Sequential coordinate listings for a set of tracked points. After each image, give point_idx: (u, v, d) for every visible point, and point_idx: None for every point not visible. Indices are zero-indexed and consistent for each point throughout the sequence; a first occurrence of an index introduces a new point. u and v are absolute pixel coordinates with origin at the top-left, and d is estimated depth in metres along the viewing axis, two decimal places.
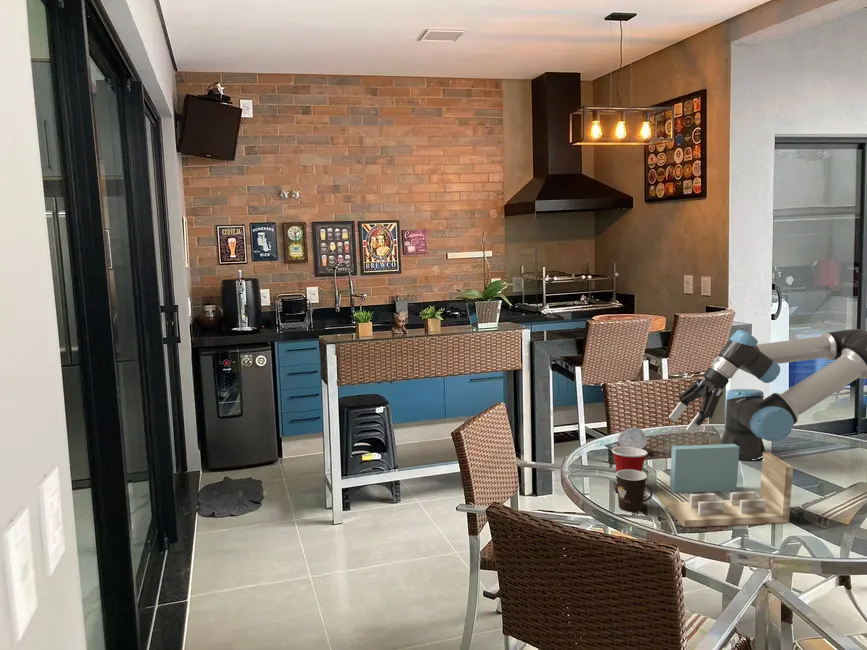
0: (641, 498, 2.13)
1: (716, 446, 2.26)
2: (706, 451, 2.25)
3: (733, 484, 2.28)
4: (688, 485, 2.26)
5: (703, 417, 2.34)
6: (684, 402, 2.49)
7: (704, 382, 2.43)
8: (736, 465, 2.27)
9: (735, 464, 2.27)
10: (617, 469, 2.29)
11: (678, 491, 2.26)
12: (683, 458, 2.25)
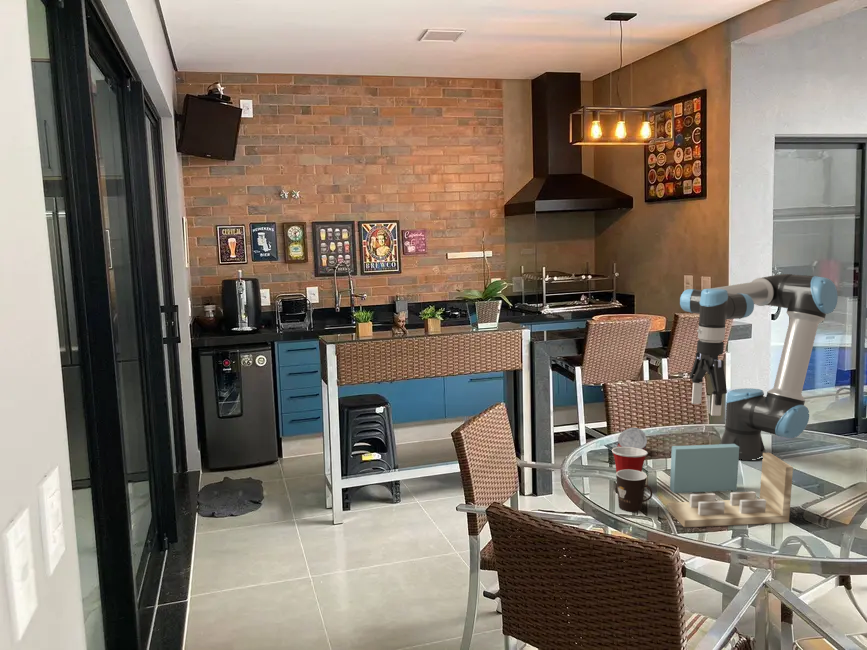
0: (641, 498, 2.13)
1: (716, 446, 2.26)
2: (706, 451, 2.25)
3: (733, 484, 2.28)
4: (688, 485, 2.26)
5: (719, 395, 2.16)
6: (697, 380, 2.31)
7: (702, 355, 2.25)
8: (736, 465, 2.27)
9: (735, 464, 2.27)
10: (617, 469, 2.29)
11: (678, 491, 2.26)
12: (683, 458, 2.25)
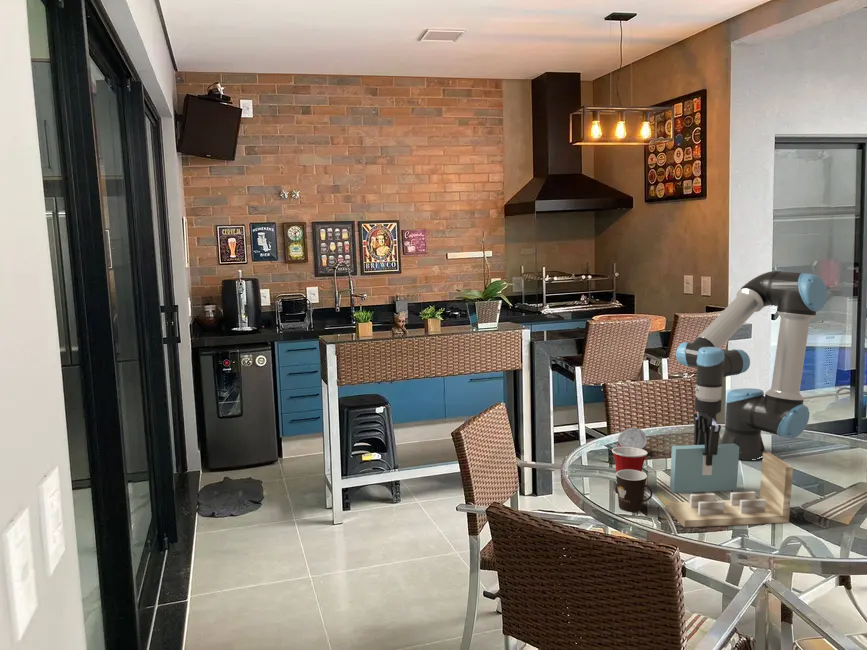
0: (641, 498, 2.13)
1: None
2: None
3: (733, 484, 2.28)
4: (688, 485, 2.26)
5: (710, 456, 2.23)
6: None
7: (699, 411, 2.27)
8: (736, 465, 2.27)
9: (735, 464, 2.27)
10: (617, 469, 2.29)
11: (678, 491, 2.26)
12: (683, 457, 2.25)
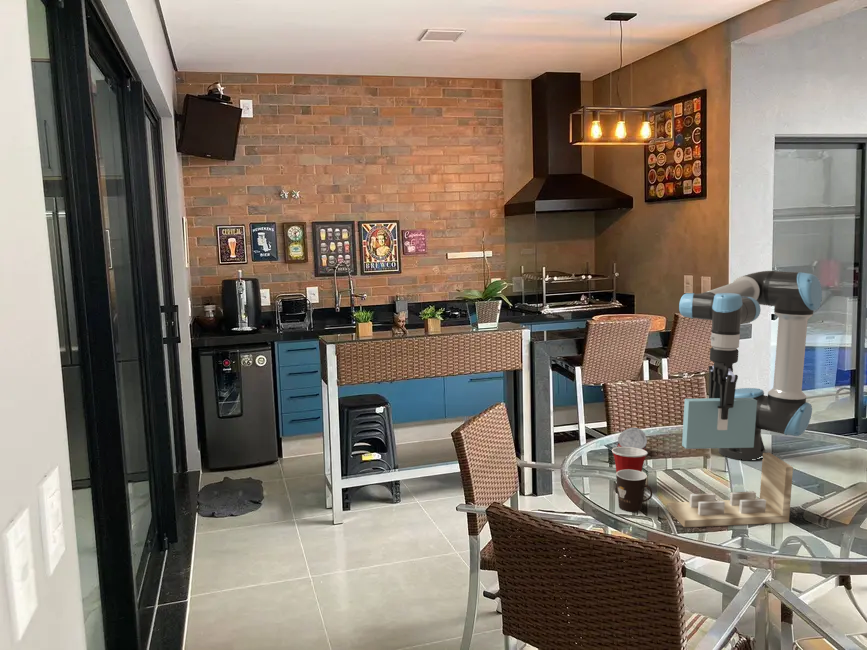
0: (641, 498, 2.13)
1: None
2: None
3: (750, 441, 2.13)
4: (701, 441, 2.12)
5: (725, 410, 2.09)
6: None
7: (715, 362, 2.13)
8: (753, 420, 2.13)
9: (753, 419, 2.12)
10: (617, 469, 2.29)
11: (691, 446, 2.12)
12: (697, 410, 2.11)
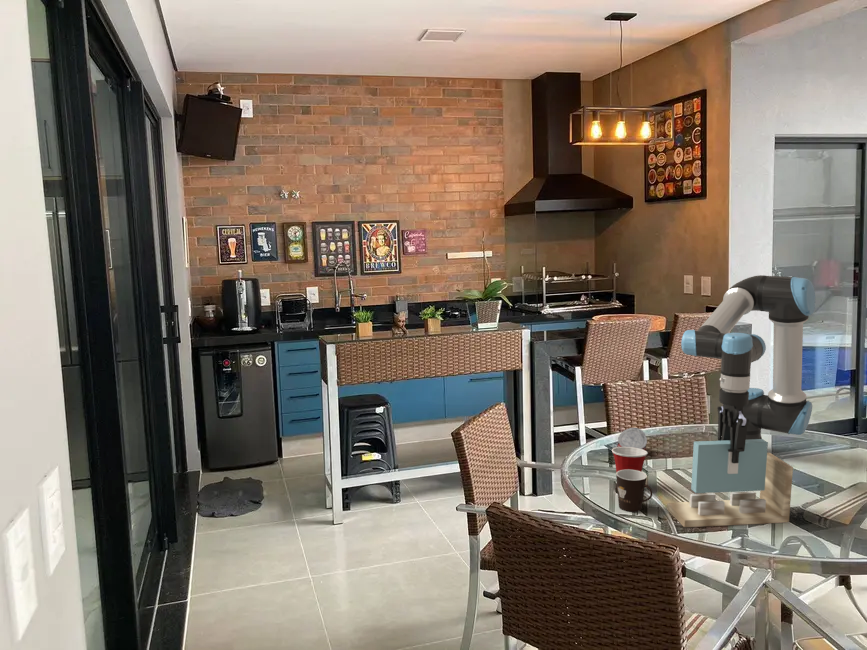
0: (641, 498, 2.13)
1: None
2: None
3: (761, 484, 2.07)
4: (711, 485, 2.06)
5: (736, 453, 2.03)
6: None
7: (724, 403, 2.07)
8: (764, 462, 2.06)
9: (764, 461, 2.06)
10: (617, 469, 2.29)
11: (701, 491, 2.06)
12: (707, 454, 2.04)
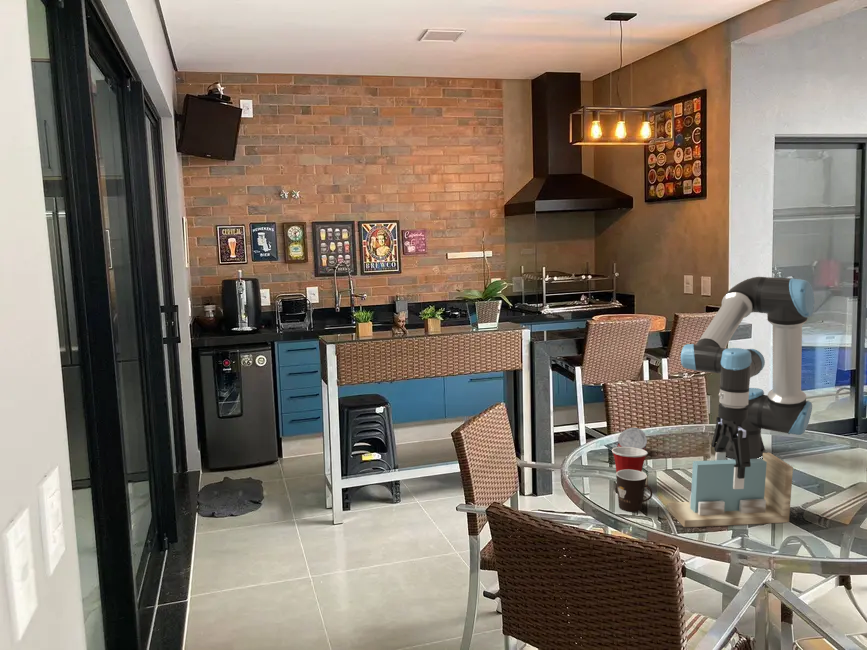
0: (641, 498, 2.13)
1: None
2: (730, 466, 2.06)
3: None
4: None
5: (742, 468, 2.00)
6: (720, 449, 2.13)
7: (724, 419, 2.07)
8: (763, 482, 2.08)
9: (762, 481, 2.07)
10: (617, 469, 2.29)
11: None
12: (706, 474, 2.06)
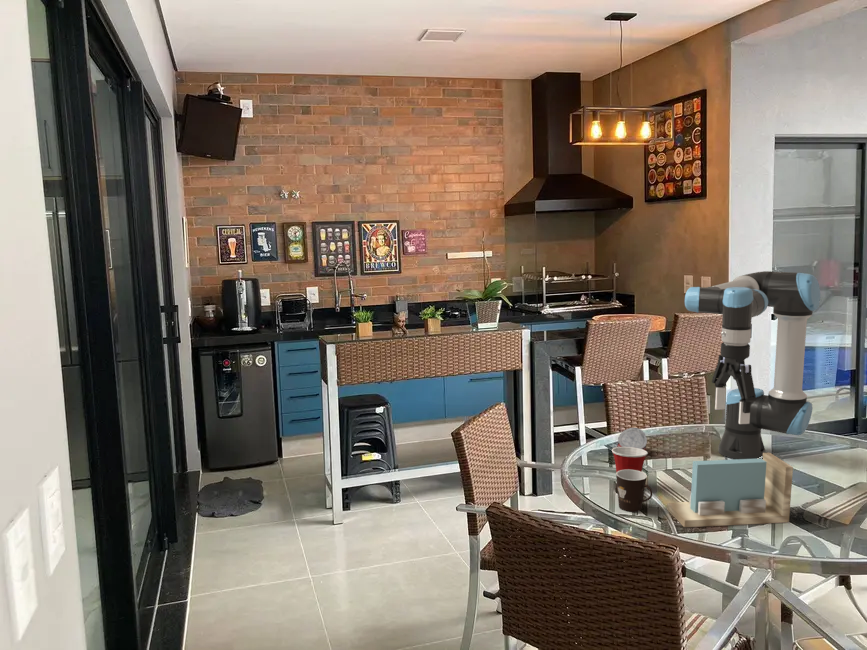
0: (641, 498, 2.13)
1: (741, 461, 2.07)
2: (730, 466, 2.06)
3: None
4: None
5: (748, 403, 2.01)
6: (720, 385, 2.16)
7: (726, 359, 2.10)
8: (763, 482, 2.08)
9: (762, 481, 2.08)
10: (617, 469, 2.29)
11: None
12: (706, 474, 2.06)
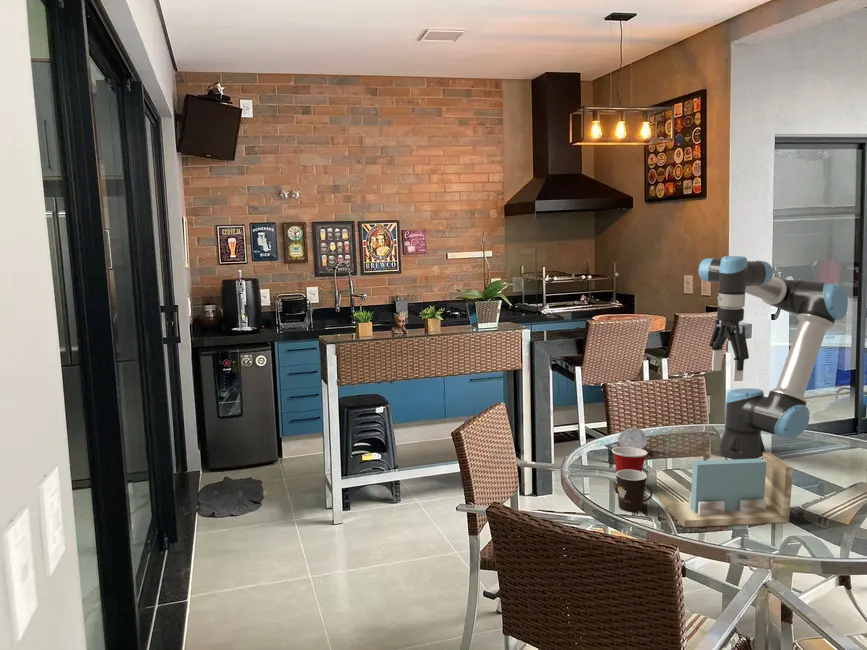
0: (641, 498, 2.13)
1: (741, 461, 2.07)
2: (730, 466, 2.06)
3: None
4: None
5: (741, 361, 2.19)
6: (717, 348, 2.34)
7: (722, 323, 2.28)
8: (763, 482, 2.08)
9: (762, 481, 2.08)
10: (617, 469, 2.29)
11: None
12: (706, 474, 2.06)
